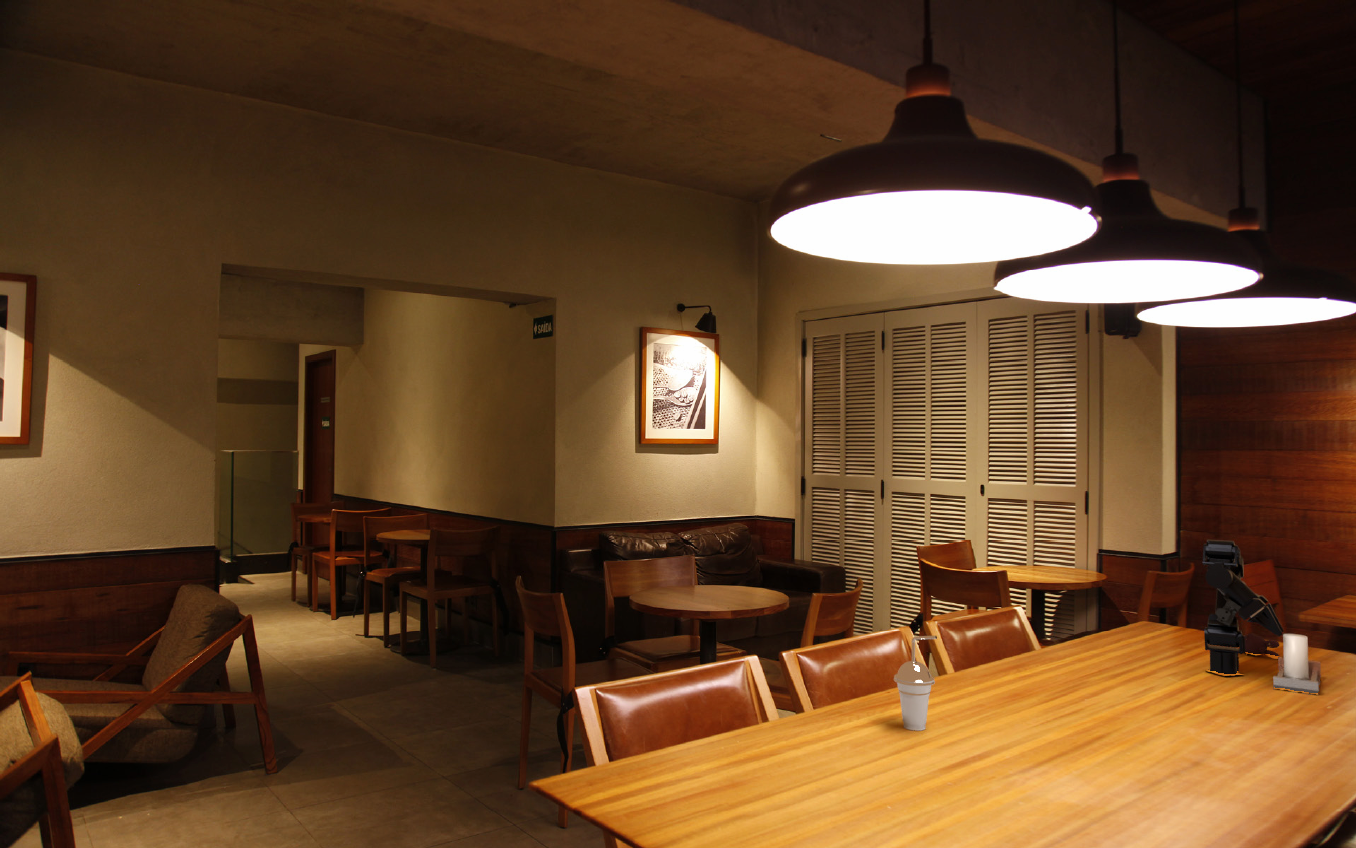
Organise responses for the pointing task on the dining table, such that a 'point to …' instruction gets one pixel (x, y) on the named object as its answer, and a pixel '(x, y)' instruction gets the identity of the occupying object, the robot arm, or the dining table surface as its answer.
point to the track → (1299, 684)
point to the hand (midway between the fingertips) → (1281, 633)
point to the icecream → (1259, 645)
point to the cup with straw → (914, 690)
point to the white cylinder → (1295, 656)
